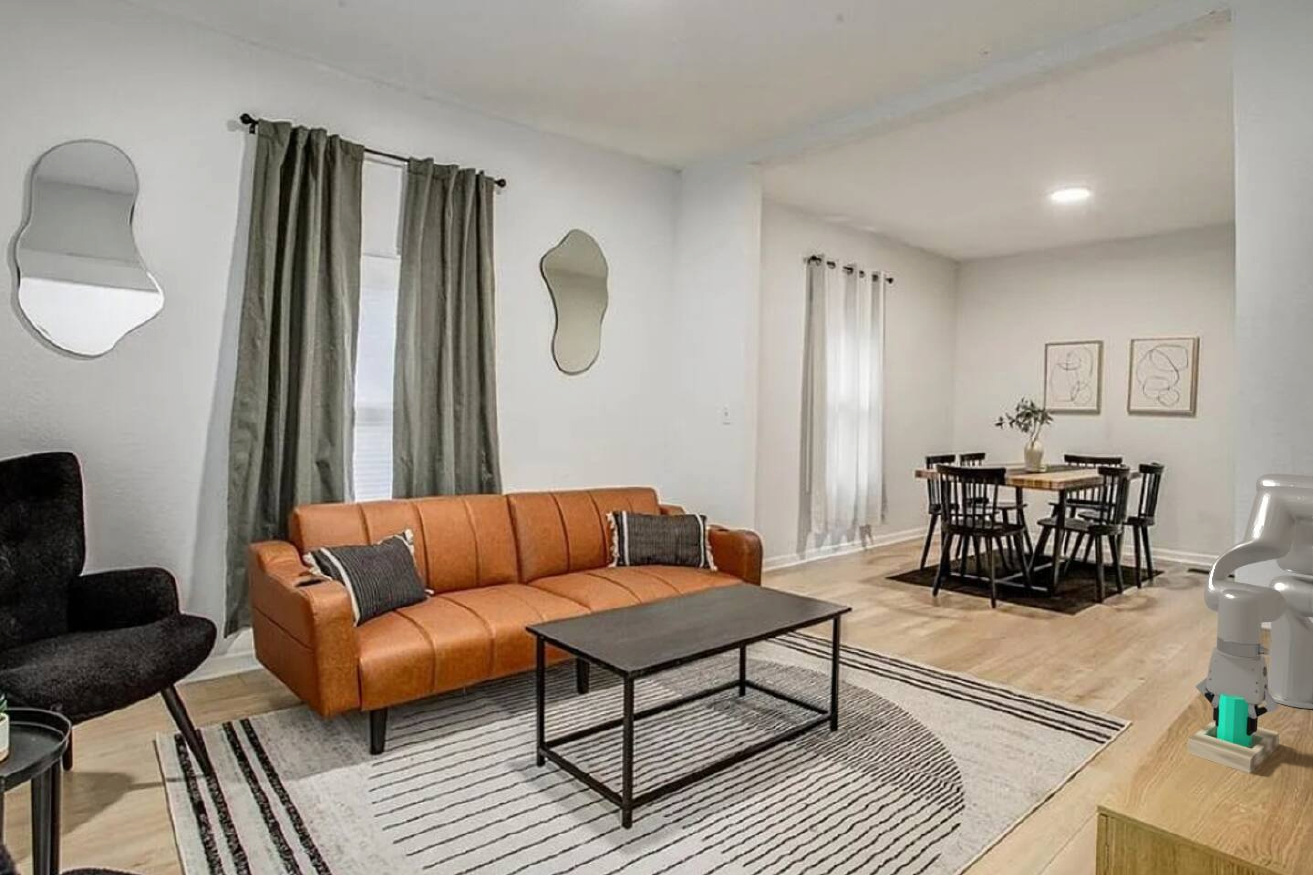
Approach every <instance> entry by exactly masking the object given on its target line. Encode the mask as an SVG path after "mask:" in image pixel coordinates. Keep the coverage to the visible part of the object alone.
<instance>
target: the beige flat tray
mask: <svg viewBox="0 0 1313 875" xmlns="http://www.w3.org/2000/svg"><path fill="white" fill-rule="evenodd" d="M1215 722H1216V721H1215V720H1213V719H1212V721H1211V722H1209V723H1208V724H1207V725H1205V726H1203V727H1202V728H1201V729H1199V730H1198V731H1197V732H1195V733H1194V734H1193V735H1192V736H1191V737H1189V738H1188V739H1187V747H1186V753H1187V754H1189V755H1193V756H1195V757H1198V758H1201V759H1205V760H1208V761H1210V762H1214V763H1216V764H1219V765H1223V766H1225V767H1229V768H1231V769H1235V770H1238V771H1241V772H1244V773H1247V774H1252V772H1253V771H1254V770H1255V769H1256V768H1257V767H1259V765H1260V764H1261V763H1262V762H1263V761H1265V760H1266V759H1267V758H1268V757H1269V755H1271V754H1272V753H1273V752H1274V751H1275V750H1276V749H1277V748H1278V747H1279V743H1280V742H1279V741H1280V740H1279V739H1280V732H1277V731H1275V730H1270V729H1268V728H1267V729H1266V728H1263V727H1260V726H1257V731H1256V732H1254V733H1253V734H1252V742H1251V746H1250V747H1244V746H1240V745H1237V744H1234V743H1230V742H1227V741H1224V740H1221V739H1218V738H1217V726H1215Z"/></svg>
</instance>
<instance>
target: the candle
mask: <svg viewBox="0 0 1313 875" xmlns="http://www.w3.org/2000/svg"><path fill="white" fill-rule="evenodd" d="M1218 708H1219V724H1218V726H1217V737H1216V738H1217V739H1221V740H1224V741H1227V742H1230V743H1234V744H1237V745H1240V746H1244V747H1247V748H1251V747H1250V746H1251V742H1252V735H1250V736H1248V735H1247V717H1250V715H1249V711H1248V708H1249V704H1248V703H1246V702H1245V699H1234V698H1228V697H1226V696H1224V695H1222V694H1221V695H1220V698H1219V706H1218Z"/></svg>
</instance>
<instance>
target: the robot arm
mask: <svg viewBox="0 0 1313 875" xmlns="http://www.w3.org/2000/svg"><path fill="white" fill-rule="evenodd" d="M1255 488H1256V489H1255V490H1256V494H1255V496H1254V499H1253V500H1254V501H1253V503H1252V507H1251V511H1250V514H1249V518H1248V522H1247V524H1246V525H1247V526H1246V529H1245V532H1244V537H1243V539H1242V540H1241V541H1239V542H1238V543H1236V544H1234V545H1233V546H1231V547H1228V549H1226V550H1225V551H1223V552H1222V553H1221V554H1220V555H1219V556H1218V557H1217V558H1216V559H1214V562H1213V563H1212V565H1211V567H1210V569H1209V573H1208V576H1207V580H1206V582H1205V586H1204V592H1203V599H1204V603H1205V605H1206V607H1207V608H1208V609H1210V610H1211V611H1214V612H1216V613H1217V616H1218V617H1217V630H1216V631H1217V635H1216V647H1214V648H1213V649H1212V652H1211V655H1210V659H1209V662H1208V663H1209V665H1208V669H1207V675H1206V676H1207V677H1206V678H1204V679H1203V680H1202V681H1201V682H1199V683H1198V684H1196V685H1195V688H1196V689H1197V691H1199V692H1200V693H1201V694H1202V695H1203V696H1204V697H1205V698H1206V700H1207V701H1208V702H1209V703H1210V705H1211V707H1212V709H1213V710H1212V711H1213V712H1212V721H1213V720H1215V721H1216V722H1215V726H1218V724H1219V708H1218V706H1219V698H1220V695H1221V694H1222V695H1224V696H1226V697H1228V698H1234V699H1245V702H1246V703H1248V704H1249V708H1248V711H1249V715H1250V717H1247V735H1248V736H1250V735H1252V734H1253V733H1254V732H1256V731H1257V727H1258V721H1259V720H1258V718H1259V717H1260V716H1262V715H1265V714H1266V713H1270V712H1272V711H1276V710H1277V709H1279V708H1280V706H1279V704H1281V705H1285V706H1288V707H1292V708H1299V709H1307V710H1309V709H1310V710H1313V622H1312V620H1311V619H1312V618H1313V578H1312V577H1307V576H1313V475H1305V474H1304V475H1302V474H1290V473H1267V474H1263V475H1261V476H1259V477H1258V478H1257V480H1256V481H1255ZM1274 560H1276V564H1277V566H1278V567H1279V568H1280V569H1281V570H1283V571H1285V572H1289V573H1292V574H1299V575H1303V576H1298V575H1290V574H1289V575H1287V574H1286V575H1279V576H1275V577H1273V579H1271V580H1270V582H1269V584H1268V586H1262V585H1255V584H1250V583H1246V582H1245V583H1244V582H1239V581H1233V580H1228V578H1229V576H1230V574H1232V573H1233V572H1234V571H1236V570H1237V569H1239V568H1242V567H1244V566H1248V565H1253V564H1257V563H1262V562H1267V561H1274ZM1304 575H1305V577H1304ZM1310 618H1311V619H1310ZM1262 623H1270V643H1269V644H1270V645H1269V646H1270V647H1269V648H1267V647H1265V646H1263V645H1262V644H1263V643H1262ZM1262 655H1269V664H1268V665H1269V666H1268V667H1269V668H1268V667H1267V661H1266V658H1265V657H1264V656H1262ZM1263 702H1265V703H1266V705H1262V703H1263ZM1260 705H1262V706H1260Z"/></svg>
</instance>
